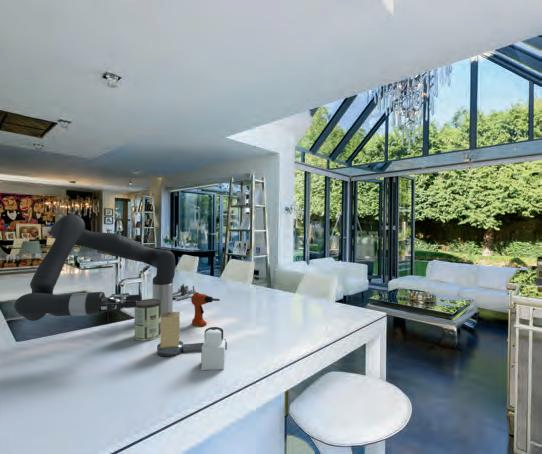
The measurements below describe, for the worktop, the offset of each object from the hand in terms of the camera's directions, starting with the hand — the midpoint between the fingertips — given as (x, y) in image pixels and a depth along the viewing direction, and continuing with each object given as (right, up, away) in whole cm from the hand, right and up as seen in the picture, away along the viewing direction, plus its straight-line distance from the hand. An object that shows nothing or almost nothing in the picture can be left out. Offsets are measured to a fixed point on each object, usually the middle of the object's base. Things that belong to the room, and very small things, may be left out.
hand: (138, 300), depth 109 cm
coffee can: (-4, -19, +18) cm, 26 cm away
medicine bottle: (+28, -20, -7) cm, 35 cm away
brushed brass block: (+10, -17, +2) cm, 20 cm away
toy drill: (+17, -19, +30) cm, 40 cm away
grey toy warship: (-11, -18, +82) cm, 85 cm away
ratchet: (+18, -19, +4) cm, 26 cm away
